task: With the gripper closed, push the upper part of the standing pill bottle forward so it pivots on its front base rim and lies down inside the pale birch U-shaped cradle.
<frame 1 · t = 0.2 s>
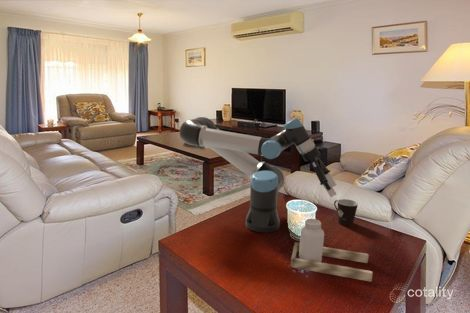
hand: (333, 190, 138), 15 cm above the table, tool tilted 35°, fingers open, 13 cm apart
coffee mug: (344, 222, 143), on the table
pill bottle: (309, 261, 110), on the table
cradle: (330, 264, 108), on the table
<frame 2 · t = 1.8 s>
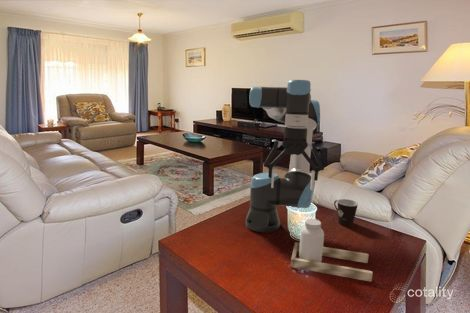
hand: (291, 188, 108), 26 cm above the table, tool pointing down, fingers open, 13 cm apart
nothing on the table moved.
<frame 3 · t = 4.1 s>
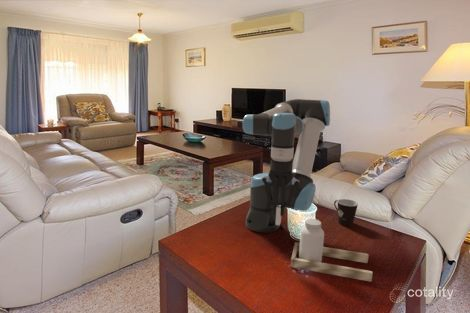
hand: (278, 223, 111), 12 cm above the table, tool pointing down, fingers closed
nothing on the table moved.
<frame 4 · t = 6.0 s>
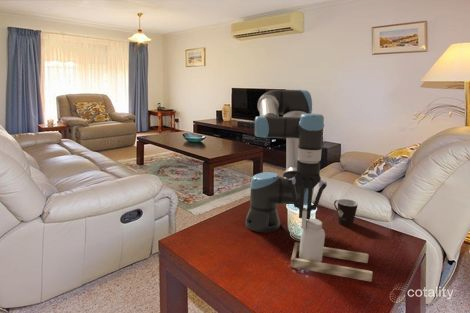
hand: (303, 227, 108), 13 cm above the table, tool pointing down, fingers closed
pill bottle: (309, 261, 110), on the table, touching gripper
everything else where it was.
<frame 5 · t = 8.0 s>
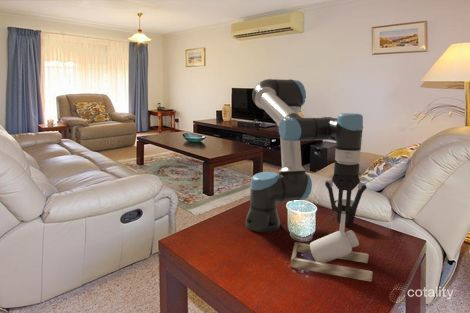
hand: (341, 231, 104), 13 cm above the table, tool pointing down, fingers closed
pill bottle: (314, 253, 109), point 3 cm above the table, touching gripper
everything else where it was.
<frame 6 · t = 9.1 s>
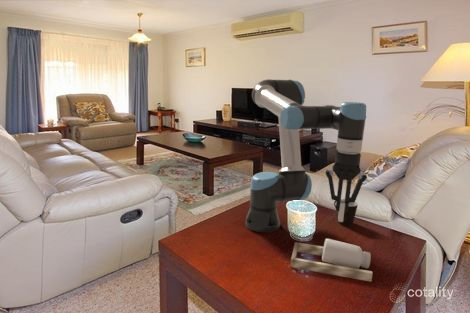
hand: (340, 219, 104), 17 cm above the table, tool pointing down, fingers closed
pill bottle: (322, 249, 109), point 5 cm above the table
everything else where it was.
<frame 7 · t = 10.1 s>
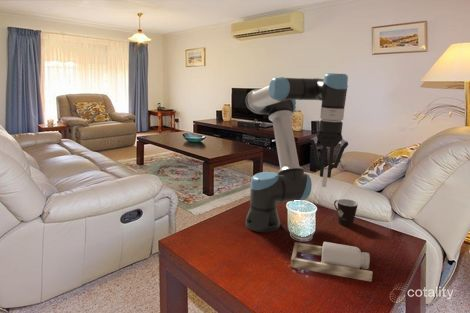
hand: (324, 185, 112), 26 cm above the table, tool pointing down, fingers closed
pill bottle: (321, 253, 108), point 4 cm above the table
everything else where it was.
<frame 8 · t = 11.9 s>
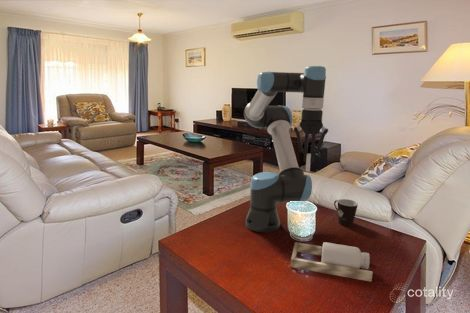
hand: (307, 170, 121), 28 cm above the table, tool pointing down, fingers closed
nothing on the table moved.
at the end: pill bottle tilted 89°; pill bottle inside the target area on the cradle (2.0 cm from its centre), point 3.9 cm above the cradle's base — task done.
